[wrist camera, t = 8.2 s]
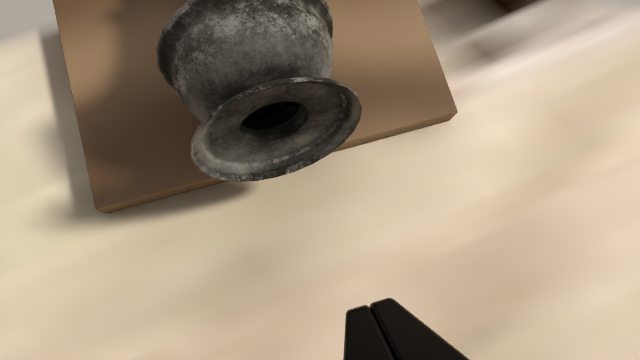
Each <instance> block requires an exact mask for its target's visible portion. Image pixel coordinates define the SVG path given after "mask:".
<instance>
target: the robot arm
mask: <svg viewBox="0 0 640 360" xmlns="http://www.w3.org/2000/svg"><path fill="white" fill-rule="evenodd" d="M343 360H469V359H468V358H467V357H466V356H464V355H463V354H462V353H460V352H459V351H458V350H457V349H455V348H454V347H453V346H452V345H450V344H449V343H448V342H447V341H445V340H444V339H443V338H442V337H440V336H439V335H438V334H437V333H435V332H434V331H433V330H432V329H430V328H429V327H428V326H427V325H425V324H424V323H423V322H422V321H420V320H419V319H418V318H417V317H415V316H414V315H413V314H411V313H410V312H409V311H408V310H406V309H405V308H404V307H403V306H401V305H400V304H399V303H398V302H396V301H395V300H394V299H392V298H386V299H383V300H380V301H377V302H373V303H371V304H370V307H369V306H367V305H363V306H360V307H357V308H353V309H350V310H348V311H347V313H346V322H345V341H344V359H343Z"/></svg>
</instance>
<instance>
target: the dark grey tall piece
mask: <svg viewBox="0 0 640 360" xmlns="http://www.w3.org/2000/svg"><path fill="white" fill-rule="evenodd" d="M187 1H188V2H186V3H185V4H184V5H183V6H181V7H180V8H179V9H178V10H176V11H175V13H174V14H173V16H172V17H171V18H170V20H169V21H168V22H167V24H166V25H165V26H164V28H163V29H162V32H161V35H160V38H159V41H158V44H157V47H156V48H157V65H158V68H159V70H160V72H161V74H162V76H163V78H164V80H165V82H166V83H167V84H168V85H169V86H171V87H172V88H173V89H174V90H175V91H176V92H177V94H178V96H179V98H180V100H181V101H182V102H183V103H184V104H185V105H186V107H187V108H188V109H189V110H190V111H191V112H192V113H193V114H194V115H195V116H196V117H197V118H198V119H199V120H200V121H201V122H202V123H201V124H200V125H199V126H198V128H197V130H196V132H195V134H194V136H193V138H192V140H191V158H192V159H193V161H194V163H195V165H196V167H197V168H198V169H199V170H201V171H202V172H203V173H205V174H206V175H208V176H211V177H214V178H217V179H220V180H226V181H236V182H243V181H258V180H264V179H269V178H274V177H278V176H282V175H285V174H288V173H291V172H295V171H297V170H299V169H302V168H304V167H306V166H309V165H311V164H313V163H315V162H317V161H318V160H320V159H322V158H324V157H325V156H327V155H329V154H330V153H331V152H333V151H334V150H335V149H337V148H338V147H339V146H340V145H342V144H343V143H344V142H345V141H346V140H347V138H348V137H349V136H350V135H351V134H352V133H353V132H354V130H355V128H356V126H357V125H358V123H359V121H360V117H361V110H362V107H361V104H360V102H359V99H358V96H357V94H356V93H355V92H354V91H353V90H352V89H351V88H349V87H348V86H347V85H346V84H344V83H341V82H338V81H335V80H332V79H330V78H331V75H332V51H333V42H332V37H333V18H332V15H331V12H330V9H329V7H328V4H327V2H326V1H325V0H187Z"/></svg>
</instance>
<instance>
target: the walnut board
mask: <svg viewBox="0 0 640 360" xmlns="http://www.w3.org/2000/svg"><path fill="white" fill-rule="evenodd" d="M325 1H326V2H327V4H328V7H329V9H330V12H331V15H332V18H333V37H332V42H333V51H332V75H331V78H330V79H332V80H335V81H338V82H341V83H344V84H346V85H347V86H348V87H349V88H351V89H352V90H353V91H354V92H355V93H356V94H357V96H358V99H359V102H360V104H361V107H362V110H361V117H360V121H359V123H358V125H357V126H356V128H355V130H354V132H353V133H352V134H351V135H350V136H349V137H348V138H347V140H346V141H345V142H344V143H343V144H342V145H340V146H339V147H338V148H337V149H335V150H334V151H338V150H342V149H346V148H349V147H353V146H357V145H360V144H364V143H368V142H371V141H375V140H379V139H382V138H386V137H390V136H393V135H397V134H401V133H405V132H408V131H412V130H416V129H419V128H423V127H427V126H430V125H434V124H438V123H441V122H445V121H449V120H450V119H451V118H452V117H453V116H454V115H455V114H456V113H457V109H456V106H455V103H454V101H453V98H452V95H451V92H450V90H449V87H448V84H447V81H446V79H445V76H444V73H443V70H442V68H441V65H440V62H439V59H438V57H437V54H436V51H435V48H434V46H433V43H432V40H431V37H430V35H429V32H428V29H427V26H426V24H425V21H424V18H423V15H422V13H421V10H420V7H419V4H418V2H417V0H325ZM186 2H188V1H187V0H53V4H54V9H55V14H56V18H57V23H58V28H59V33H60V38H61V42H62V47H63V52H64V57H65V62H66V67H67V71H68V76H69V81H70V86H71V91H72V96H73V100H74V105H75V110H76V115H77V120H78V124H79V129H80V134H81V139H82V144H83V149H84V153H85V158H86V163H87V168H88V173H89V177H90V182H91V187H92V192H93V197H94V202H95V206H96V209H97V210H99V211H102V212H104V213H110V212H113V211H117V210H121V209H124V208H128V207H132V206H135V205H139V204H143V203H146V202H150V201H154V200H157V199H161V198H165V197H169V196H172V195H176V194H180V193H183V192H187V191H191V190H194V189H198V188H202V187H205V186H209V185H213V184H216V183H220V182H224V181H226V180H220V179H217V178H214V177H211V176H208V175H206V174H205V173H203V172H202V171H201V170H199V169H198V168H197V167H196V165H195V163H194V161H193V159H192V158H191V140H192V138H193V136H194V134H195V132H196V130H197V128H198V126H199V125H200V124H201V123H202V122H201V121H200V120H199V119H198V118H197V117H196V116H195V115H194V114H193V113H192V112H191V111H190V110H189V109H188V108H187V107H186V105H185V104H184V103H183V102H182V101H181V100H180V98H179V96H178V94H177V92H176V91H175V90H174V89H173V88H172V87H171V86H169V85H168V84H167V83H166V82H165V80H164V78H163V76H162V74H161V72H160V70H159V68H158V65H157V48H156V47H157V44H158V41H159V38H160V35H161V32H162V29H163V28H164V26H165V25H166V24H167V22H168V21H169V20H170V18H171V17H172V16H173V14H174V13H175V11H176V10H178V9H179V8H180V7H181V6H183V5H184V4H185V3H186ZM334 151H333V152H334Z"/></svg>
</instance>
